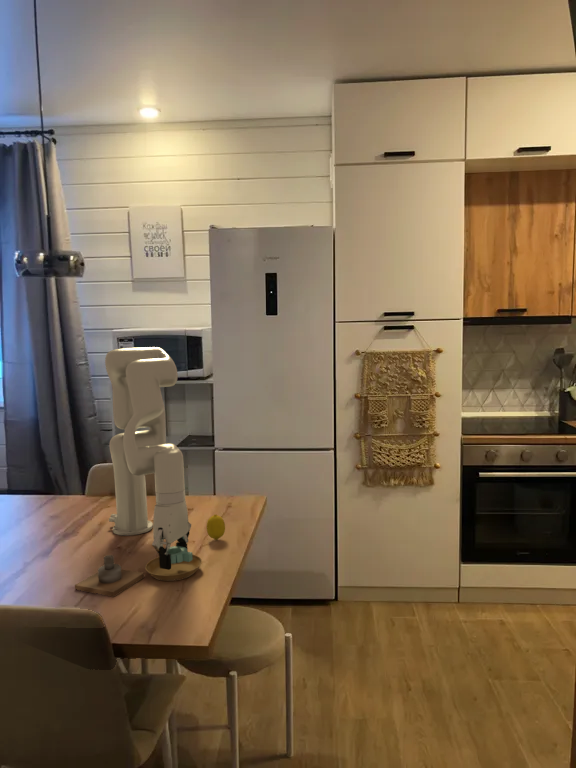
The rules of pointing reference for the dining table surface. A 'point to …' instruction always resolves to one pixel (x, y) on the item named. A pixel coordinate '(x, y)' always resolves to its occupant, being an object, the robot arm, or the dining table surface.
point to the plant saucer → (173, 569)
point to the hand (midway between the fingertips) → (174, 562)
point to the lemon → (215, 527)
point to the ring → (180, 554)
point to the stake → (109, 579)
